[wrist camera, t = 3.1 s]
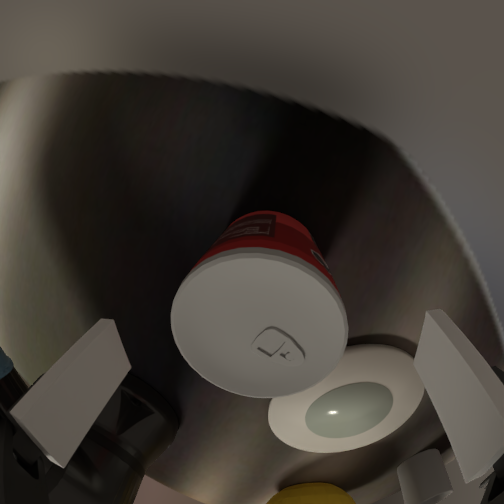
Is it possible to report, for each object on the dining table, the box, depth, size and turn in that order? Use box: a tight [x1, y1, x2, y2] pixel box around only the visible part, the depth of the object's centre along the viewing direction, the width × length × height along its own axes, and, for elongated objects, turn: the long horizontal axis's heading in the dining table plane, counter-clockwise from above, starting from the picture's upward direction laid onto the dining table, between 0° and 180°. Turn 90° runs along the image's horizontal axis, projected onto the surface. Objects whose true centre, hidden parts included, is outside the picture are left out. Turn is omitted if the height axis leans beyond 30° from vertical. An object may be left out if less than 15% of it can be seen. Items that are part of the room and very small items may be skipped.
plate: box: [268, 344, 425, 453], centre depth 25 cm, size 18×18×1 cm
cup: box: [397, 449, 453, 504], centre depth 25 cm, size 8×8×10 cm
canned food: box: [171, 211, 348, 398], centre depth 16 cm, size 8×8×11 cm
